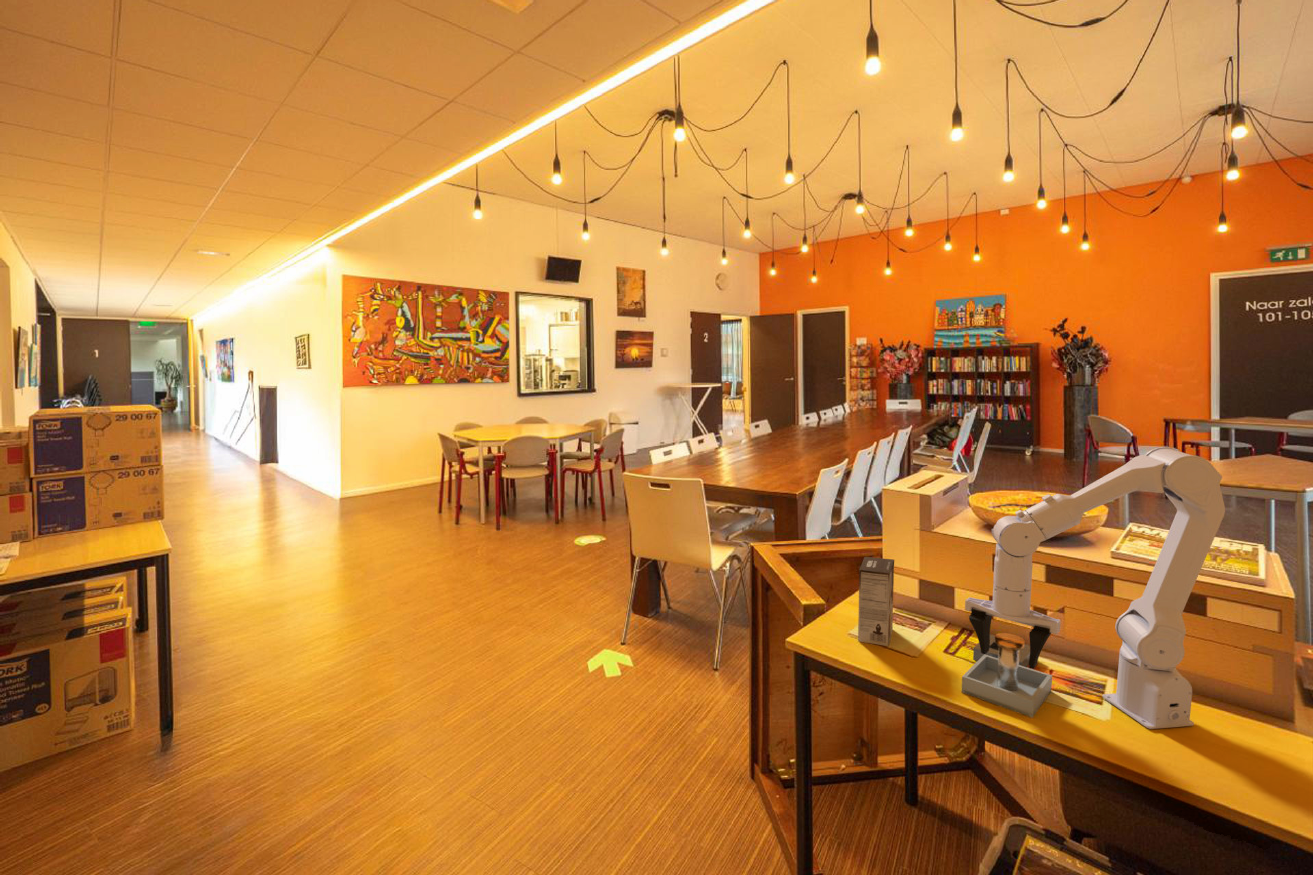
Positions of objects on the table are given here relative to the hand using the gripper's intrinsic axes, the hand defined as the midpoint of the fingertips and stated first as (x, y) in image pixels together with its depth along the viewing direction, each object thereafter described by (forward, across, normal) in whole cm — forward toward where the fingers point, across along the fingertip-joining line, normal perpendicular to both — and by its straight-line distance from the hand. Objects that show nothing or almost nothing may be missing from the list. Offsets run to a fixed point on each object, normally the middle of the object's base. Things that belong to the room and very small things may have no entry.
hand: (1008, 658), depth 108 cm
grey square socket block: (+6, +4, -12) cm, 14 cm away
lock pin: (+6, 0, -1) cm, 6 cm away
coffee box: (+6, +27, -5) cm, 28 cm away
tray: (+6, 0, 0) cm, 6 cm away
